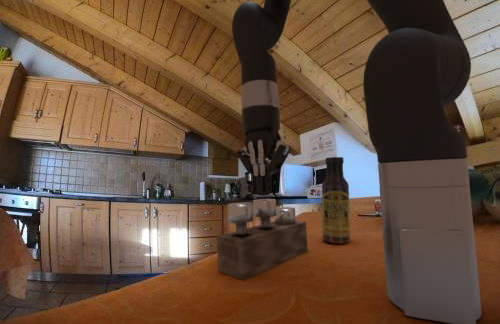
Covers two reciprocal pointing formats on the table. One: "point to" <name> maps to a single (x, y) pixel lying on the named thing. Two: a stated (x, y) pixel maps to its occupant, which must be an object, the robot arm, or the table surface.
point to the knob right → (285, 216)
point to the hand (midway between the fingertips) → (264, 195)
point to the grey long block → (260, 249)
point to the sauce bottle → (335, 203)
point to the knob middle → (264, 211)
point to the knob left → (240, 216)
